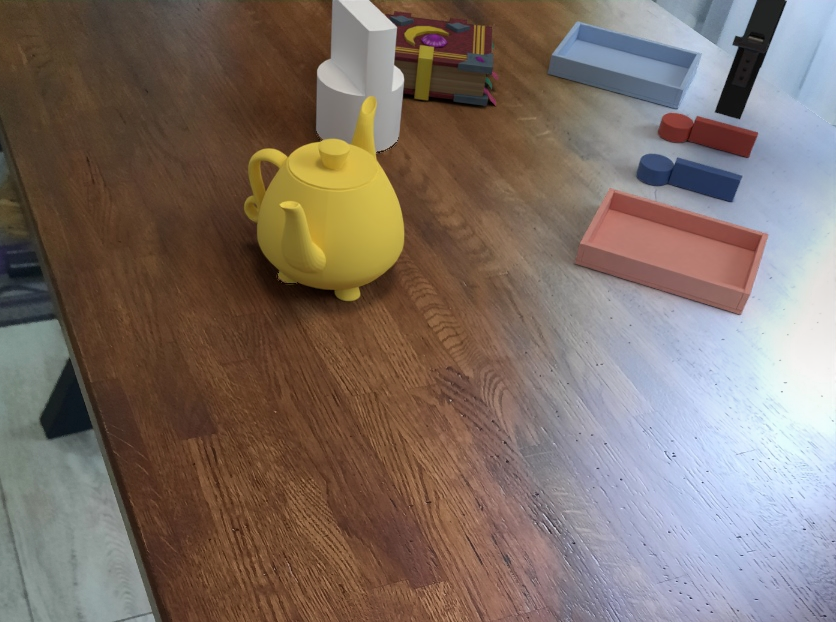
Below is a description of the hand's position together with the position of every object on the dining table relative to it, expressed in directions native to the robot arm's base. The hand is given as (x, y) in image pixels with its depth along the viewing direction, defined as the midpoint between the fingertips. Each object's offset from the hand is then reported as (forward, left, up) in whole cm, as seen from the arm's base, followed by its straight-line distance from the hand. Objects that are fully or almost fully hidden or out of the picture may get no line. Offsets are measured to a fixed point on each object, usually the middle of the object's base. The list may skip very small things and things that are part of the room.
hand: (738, 88), depth 100 cm
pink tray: (0, +25, -6) cm, 26 cm away
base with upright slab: (+36, +19, -7) cm, 41 cm away
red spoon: (+2, 0, -6) cm, 7 cm away
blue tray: (+14, -12, -6) cm, 20 cm away
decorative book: (+34, +3, -7) cm, 35 cm away
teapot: (+29, +43, -7) cm, 52 cm away
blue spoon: (+2, +11, -6) cm, 12 cm away
